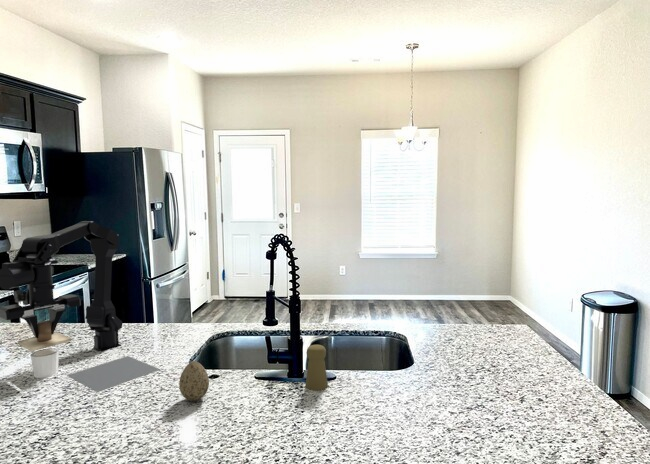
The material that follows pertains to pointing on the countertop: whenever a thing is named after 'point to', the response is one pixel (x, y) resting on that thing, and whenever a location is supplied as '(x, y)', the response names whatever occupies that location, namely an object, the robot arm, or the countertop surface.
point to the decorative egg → (194, 381)
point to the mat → (112, 373)
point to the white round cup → (45, 362)
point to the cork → (316, 368)
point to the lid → (44, 338)
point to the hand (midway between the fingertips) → (44, 336)
